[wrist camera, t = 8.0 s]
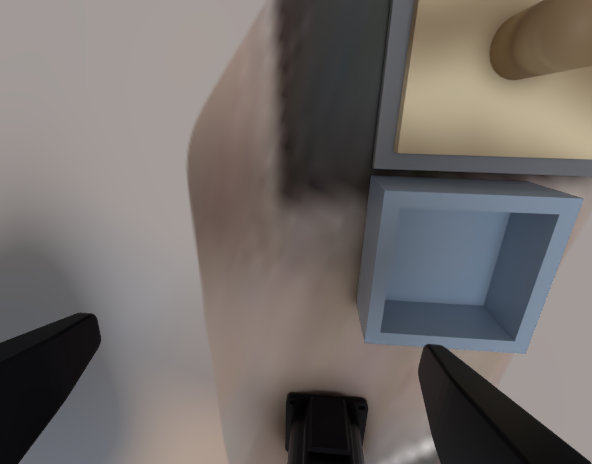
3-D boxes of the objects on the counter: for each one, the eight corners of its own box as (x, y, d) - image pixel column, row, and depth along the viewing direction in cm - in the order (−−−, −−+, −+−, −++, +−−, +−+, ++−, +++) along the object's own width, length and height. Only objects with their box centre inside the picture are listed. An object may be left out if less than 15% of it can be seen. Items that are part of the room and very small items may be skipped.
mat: (584, 174, 17) (593, 176, 17) (371, 166, 18) (373, 168, 17) (687, -106, 13) (703, -116, 12) (402, -103, 14) (406, -112, 13)
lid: (581, 157, 16) (680, 172, 12) (393, 151, 17) (421, 164, 12) (666, -84, 13) (853, -191, 8) (425, -82, 13) (479, -182, 9)
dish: (488, 311, 21) (525, 353, 17) (356, 303, 21) (364, 342, 18) (527, 181, 18) (583, 198, 14) (370, 175, 18) (384, 190, 14)
